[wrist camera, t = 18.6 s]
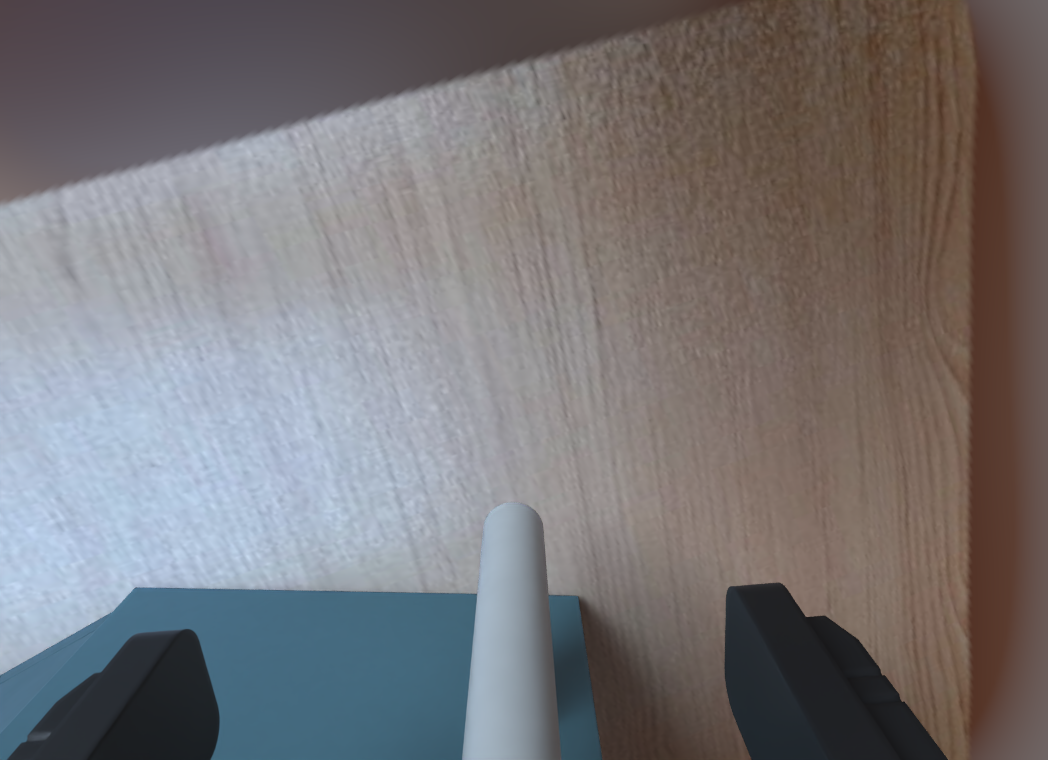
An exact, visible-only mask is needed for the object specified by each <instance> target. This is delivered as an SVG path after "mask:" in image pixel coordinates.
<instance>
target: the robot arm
mask: <svg viewBox="0 0 1048 760" xmlns="http://www.w3.org/2000/svg"><path fill="white" fill-rule="evenodd" d="M725 681H726V688H727V694H728V698H729V702H730V706H731V709H732V712H733V715H734V718H735V720H736V723H737V725H738V728H739V730H740V733H741V735H742V737H743V740H744V742H745V745H746V747H747V749H748V752H749V754H750V757H751V759H752V760H948V759H947V758H946V756H945V755H944V754H943V752H942V751H941V750H940V748H939V747H938V746H937V744H936V743H935V742H934V740H933V739H932V738H931V736H930V735H929V734H928V732H927V731H926V730H925V728H924V727H923V726H922V724H921V723H920V722H919V720H918V719H917V718H916V716H915V715H914V713H913V712H912V711H911V709H910V708H909V707H908V705H907V704H906V703H905V702H902V701H901V700H900V696H899V693H898V692H897V691H896V689H895V688H894V687H893V685H892V684H891V683H890V681H889V680H888V679H887V677H886V676H885V675H883V676H882V674H881V671H880V668H879V667H878V665H877V664H876V663H875V661H874V660H873V659H872V657H871V656H870V655H869V653H868V652H867V651H866V649H865V648H864V647H863V645H862V644H861V643H860V641H859V640H858V639H857V638H855V637H854V636H853V635H851V634H850V633H848V632H847V631H846V630H844V629H843V628H841V627H840V626H839V625H837V624H836V623H835V622H833V621H832V620H830V619H829V618H828V617H826V616H814V617H805V615H804V614H803V612H802V611H801V609H800V608H799V606H798V605H797V603H796V602H795V600H794V599H793V597H792V596H791V594H790V593H789V591H788V590H787V588H786V587H785V586H784V585H783V584H781V583H768V584H756V585H743V586H731V587H729V588H728V591H727V595H726V625H725ZM219 726H220V715H219V708H218V704H217V701H216V697H215V694H214V690H213V687H212V683H211V680H210V676H209V673H208V669H207V666H206V662H205V659H204V655H203V652H202V648H201V645H200V641H199V639H198V636H197V635H196V633H195V632H194V631H192V630H191V629H181V630H168V631H156V632H143V633H137V634H135V635H133V636H131V637H130V638H129V639H128V640H127V641H126V642H125V644H124V645H123V646H122V647H121V649H120V650H119V651H118V652H117V653H116V655H115V656H114V657H113V658H112V660H111V661H110V662H109V663H108V664H107V666H106V667H105V668H104V669H103V671H102V672H99V673H94V674H92V675H91V676H90V677H88V678H87V679H86V680H84V681H83V682H82V683H80V684H79V685H78V686H77V687H75V688H74V689H73V690H71V691H70V692H69V693H67V694H66V695H65V696H63V697H62V698H61V699H59V700H58V701H57V702H56V703H55V704H54V705H53V706H52V707H51V709H50V710H49V711H48V712H47V713H46V714H45V716H44V717H43V718H42V719H41V720H40V721H39V723H38V724H37V725H36V726H35V727H34V728H33V730H32V731H31V732H30V733H29V734H28V735H27V741H26V742H22V743H21V744H20V745H19V746H18V747H17V748H16V749H15V751H14V752H13V753H12V754H11V755H10V756H9V758H8V759H7V760H211V758H212V756H213V753H214V750H215V748H216V744H217V740H218V735H219Z"/></svg>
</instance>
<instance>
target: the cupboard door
mask: <svg viewBox="0 0 1048 760" xmlns="http://www.w3.org/2000/svg"><path fill="white" fill-rule="evenodd" d="M181 629H191V630H192V631H194V632H195V633H196V635H197V636H198V639H199V641H200V645H201V648H202V652H203V655H204V659H205V662H206V666H207V669H208V673H209V676H210V680H211V683H212V687H213V690H214V694H215V697H216V701H217V704H218V708H219V715H220V726H219V735H218V740H217V744H216V748H215V750H214V753H213V756H212V758H211V760H603V759H602V752H601V746H600V739H599V732H598V726H597V719H596V712H595V706H594V699H593V692H592V685H591V679H590V672H589V665H588V659H587V652H586V645H585V639H584V632H583V625H582V618H581V612H580V605H579V598H578V596H555V595H548V582H547V570H546V557H545V544H544V531H543V523H542V520H541V518H540V516H539V515H538V513H537V512H536V511H535V510H534V509H532V508H531V507H529V506H527V505H525V504H522V503H517V502H510V503H505V504H502V505H499V506H498V507H496V508H494V509H493V510H492V511H491V512H490V513H489V514H488V516H487V517H486V519H485V522H484V528H483V538H482V549H481V560H480V571H479V582H478V592H477V594H449V593H396V592H343V591H290V590H238V589H185V588H135V589H134V590H133V591H132V592H131V593H130V594H129V595H128V596H127V597H126V598H125V599H124V600H123V601H122V603H121V604H120V605H119V606H118V607H117V608H116V609H115V610H114V611H113V612H112V613H111V614H110V615H109V616H108V618H107V619H106V620H105V621H104V622H103V623H102V624H101V625H100V626H99V627H98V628H97V629H96V630H95V632H94V633H93V634H92V635H91V636H90V637H89V638H88V639H87V640H86V641H85V642H84V643H83V644H82V646H81V647H80V648H79V649H78V650H77V651H76V652H75V653H74V654H73V655H72V656H71V657H70V658H69V659H68V661H67V662H66V663H65V664H64V665H63V666H62V667H61V668H60V669H59V670H58V671H57V672H56V673H55V675H54V676H53V677H52V678H51V679H50V680H49V681H48V682H47V683H46V684H45V685H44V686H43V687H42V689H41V690H40V691H39V692H38V693H37V694H36V695H35V696H34V697H33V698H32V699H31V700H30V701H29V702H28V704H27V705H26V706H25V707H24V708H23V709H22V710H21V711H20V712H19V713H18V714H17V715H16V716H15V718H14V719H13V720H12V721H11V722H10V723H9V724H8V725H7V726H6V727H5V728H4V729H3V730H2V732H1V733H0V760H7V759H8V758H9V756H10V755H11V754H12V753H13V752H14V751H15V749H16V748H17V747H18V746H19V745H20V744H21V743H22V742H26V741H27V735H28V734H29V733H30V732H31V731H32V730H33V728H34V727H35V726H36V725H37V724H38V723H39V721H40V720H41V719H42V718H43V717H44V716H45V714H46V713H47V712H48V711H49V710H50V709H51V707H52V706H53V705H54V704H55V703H56V702H57V701H58V700H59V699H61V698H62V697H63V696H65V695H66V694H67V693H69V692H70V691H71V690H73V689H74V688H75V687H77V686H78V685H79V684H80V683H82V682H83V681H84V680H86V679H87V678H88V677H90V676H91V675H92V674H94V673H99V672H102V671H103V669H104V668H105V667H106V666H107V664H108V663H109V662H110V661H111V660H112V658H113V657H114V656H115V655H116V653H117V652H118V651H119V650H120V649H121V647H122V646H123V645H124V644H125V642H126V641H127V640H128V639H129V638H130V637H131V636H133V635H135V634H137V633H143V632H156V631H168V630H181Z"/></svg>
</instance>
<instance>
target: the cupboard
mask: <svg viewBox="0 0 1048 760" xmlns="http://www.w3.org/2000/svg"><path fill="white" fill-rule="evenodd" d="M110 614H111V613H110ZM110 614H108V615H106V616H105V617H103V618H101V619H99V620H97V621H96V622H94V623H92V624H90V625H89V626H87V627H85V628H83V629H82V630H80V631H78V632H76V633H75V634H73V635H71V636H69V637H68V638H66V639H64V640H62V641H60V642H59V643H57V644H55V645H53V646H52V647H50V648H48V649H46V650H45V651H43V652H41V653H39V654H38V655H36V656H34V657H32V658H31V659H29V660H27V661H25V662H23V663H22V664H20V665H18V666H16V667H15V668H13V669H11V670H9V671H8V672H6V673H4V674H2V675H1V676H0V733H1V732H2V730H3V729H4V728H5V727H6V726H7V725H8V724H9V723H10V722H11V721H12V720H13V719H14V718H15V716H16V715H17V714H18V713H19V712H20V711H21V710H22V709H23V708H24V707H25V706H26V705H27V704H28V702H29V701H30V700H31V699H32V698H33V697H34V696H35V695H36V694H37V693H38V692H39V691H40V690H41V689H42V687H43V686H44V685H45V684H46V683H47V682H48V681H49V680H50V679H51V678H52V677H53V676H54V675H55V673H56V672H57V671H58V670H59V669H60V668H61V667H62V666H63V665H64V664H65V663H66V662H67V661H68V659H69V658H70V657H71V656H72V655H73V654H74V653H75V652H76V651H77V650H78V649H79V648H80V647H81V646H82V644H83V643H84V642H85V641H86V640H87V639H88V638H89V637H90V636H91V635H92V634H93V633H94V632H95V630H96V629H97V628H98V627H99V626H100V625H101V624H102V623H103V622H104V621H105V620H106V619H107V618H108V616H109V615H110Z"/></svg>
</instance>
